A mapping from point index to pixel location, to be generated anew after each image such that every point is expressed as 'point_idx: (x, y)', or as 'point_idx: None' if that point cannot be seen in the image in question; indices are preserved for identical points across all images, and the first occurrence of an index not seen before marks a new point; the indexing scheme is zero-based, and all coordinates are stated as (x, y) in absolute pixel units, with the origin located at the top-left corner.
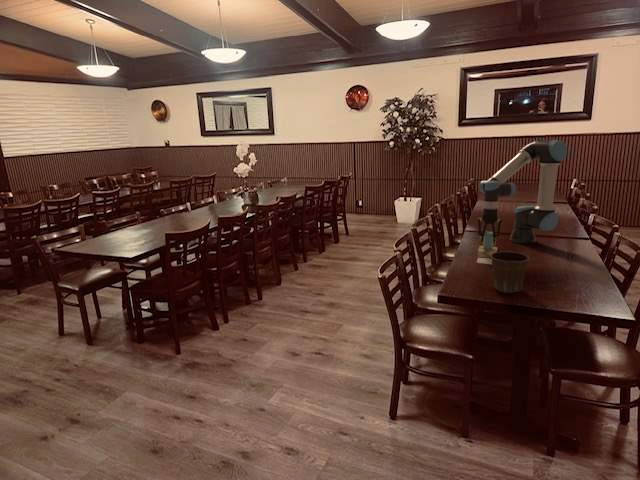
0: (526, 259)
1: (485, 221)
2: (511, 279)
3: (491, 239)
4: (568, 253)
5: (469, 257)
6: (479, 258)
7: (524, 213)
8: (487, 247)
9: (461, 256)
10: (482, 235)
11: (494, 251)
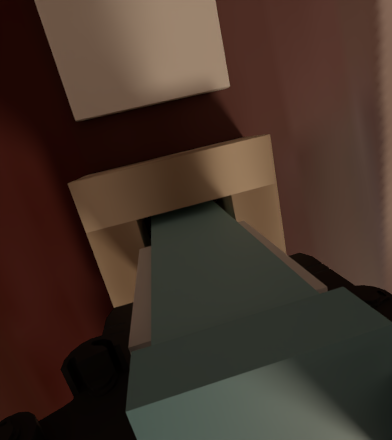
0: None
1: None
2: None
3: (156, 293)
4: None
5: (301, 85)
6: (209, 58)
7: None
8: (193, 224)
9: (366, 80)
10: (373, 292)
11: (95, 191)
